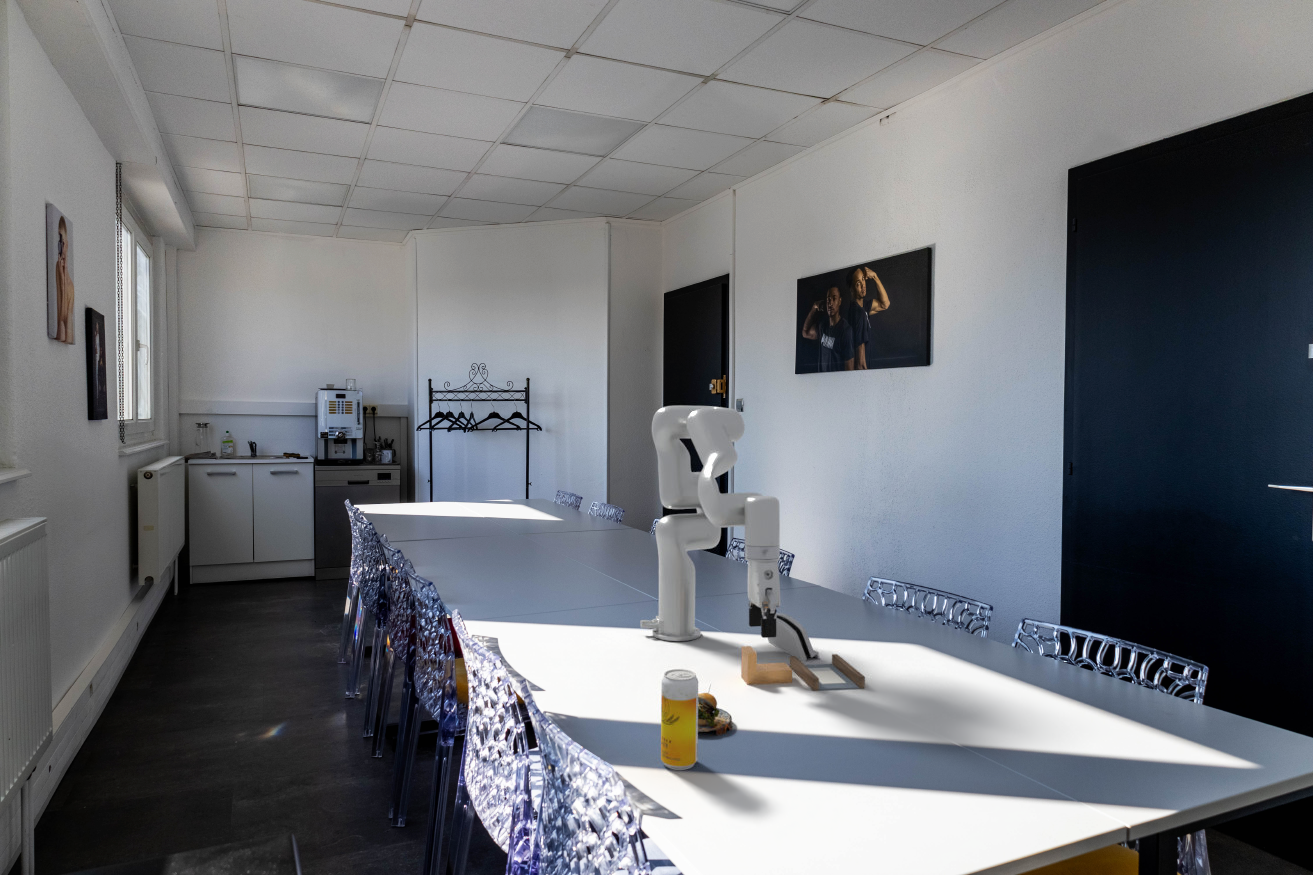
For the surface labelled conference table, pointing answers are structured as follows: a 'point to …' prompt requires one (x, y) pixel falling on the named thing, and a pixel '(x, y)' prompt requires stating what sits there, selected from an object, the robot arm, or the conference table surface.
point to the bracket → (762, 670)
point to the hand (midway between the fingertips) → (762, 631)
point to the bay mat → (831, 677)
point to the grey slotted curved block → (792, 638)
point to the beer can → (679, 719)
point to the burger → (712, 715)
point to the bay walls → (836, 661)
